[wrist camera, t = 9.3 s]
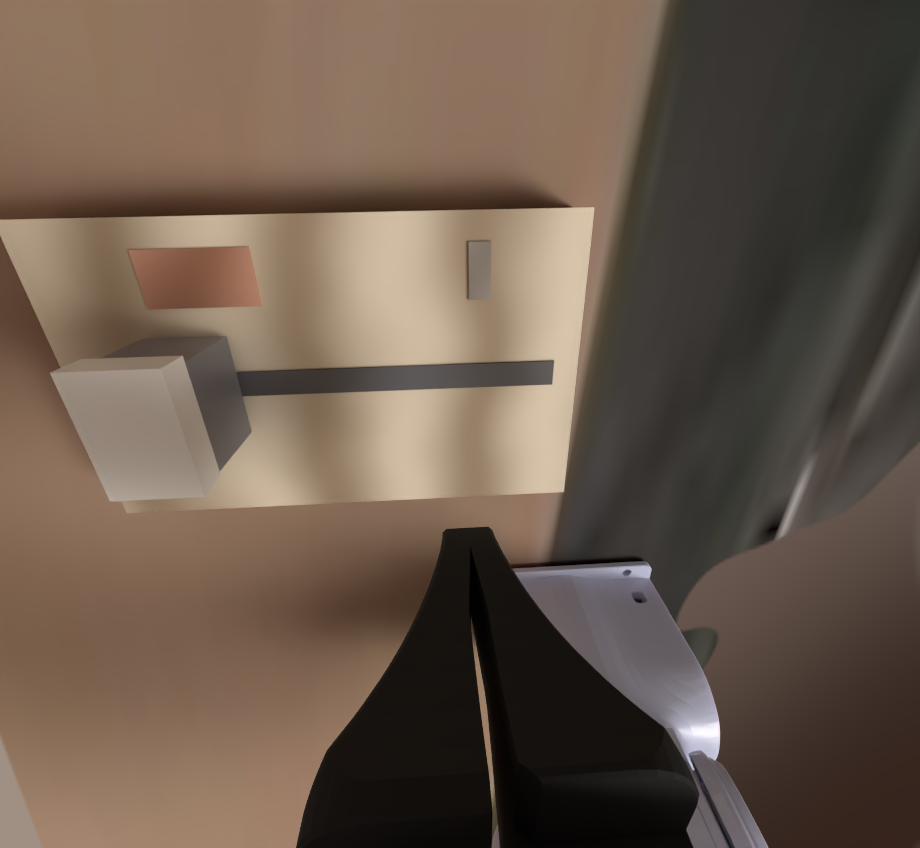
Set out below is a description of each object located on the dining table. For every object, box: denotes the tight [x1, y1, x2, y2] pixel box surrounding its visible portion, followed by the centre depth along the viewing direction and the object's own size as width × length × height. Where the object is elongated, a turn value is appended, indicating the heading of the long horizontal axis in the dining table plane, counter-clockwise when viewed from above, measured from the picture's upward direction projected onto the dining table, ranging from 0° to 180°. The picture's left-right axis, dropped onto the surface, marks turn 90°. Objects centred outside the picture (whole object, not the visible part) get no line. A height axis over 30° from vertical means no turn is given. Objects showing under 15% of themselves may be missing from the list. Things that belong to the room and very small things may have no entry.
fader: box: [50, 336, 252, 502], centre depth 15 cm, size 3×4×4 cm
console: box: [0, 207, 595, 513], centre depth 18 cm, size 20×12×3 cm, turn 91°
